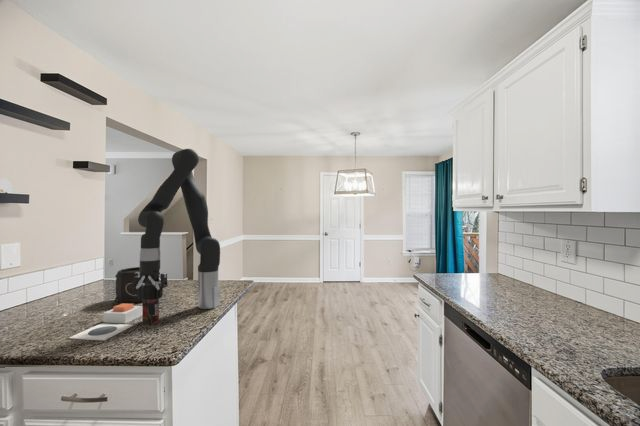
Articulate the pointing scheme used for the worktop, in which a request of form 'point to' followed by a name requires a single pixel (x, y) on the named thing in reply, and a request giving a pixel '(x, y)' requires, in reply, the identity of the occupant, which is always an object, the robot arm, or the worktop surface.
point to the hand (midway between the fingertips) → (149, 297)
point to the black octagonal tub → (127, 286)
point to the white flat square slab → (101, 331)
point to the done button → (123, 307)
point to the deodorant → (150, 304)
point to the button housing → (122, 315)
